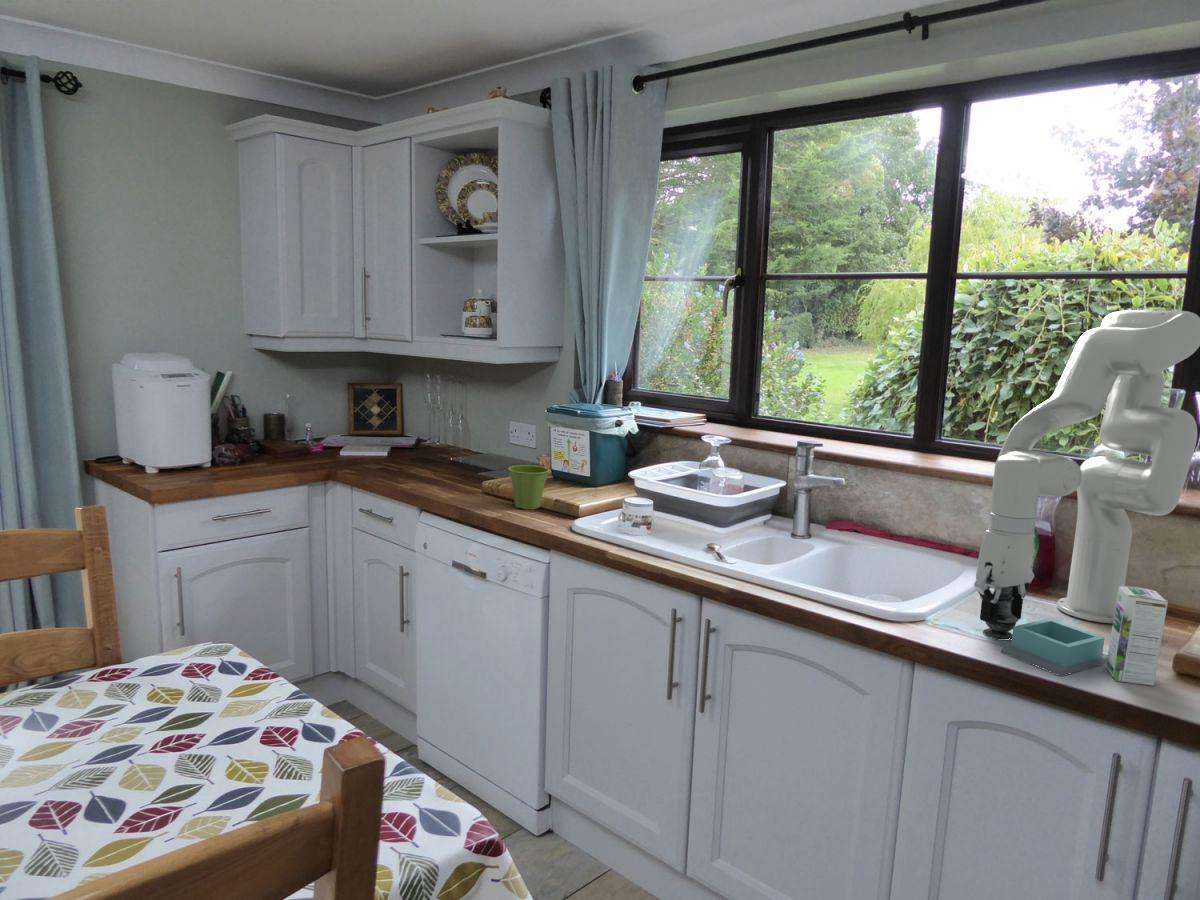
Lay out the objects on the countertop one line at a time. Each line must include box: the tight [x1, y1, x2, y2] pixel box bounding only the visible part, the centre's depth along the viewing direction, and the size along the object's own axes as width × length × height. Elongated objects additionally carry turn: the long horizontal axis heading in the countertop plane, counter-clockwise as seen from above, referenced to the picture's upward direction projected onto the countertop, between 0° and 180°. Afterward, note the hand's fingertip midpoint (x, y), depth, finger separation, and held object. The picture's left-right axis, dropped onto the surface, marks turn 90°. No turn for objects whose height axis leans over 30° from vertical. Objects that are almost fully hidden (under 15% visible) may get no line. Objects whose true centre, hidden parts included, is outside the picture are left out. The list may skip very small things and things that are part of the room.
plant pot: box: [507, 464, 551, 511], centre depth 240 cm, size 12×12×11 cm
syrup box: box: [1105, 586, 1169, 687], centre depth 136 cm, size 6×6×14 cm
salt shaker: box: [982, 586, 1019, 640], centre depth 153 cm, size 6×6×12 cm
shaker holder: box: [1000, 618, 1108, 677], centre depth 144 cm, size 14×11×4 cm
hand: (1000, 618), depth 153 cm, fingers closed on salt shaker, 5 cm apart
